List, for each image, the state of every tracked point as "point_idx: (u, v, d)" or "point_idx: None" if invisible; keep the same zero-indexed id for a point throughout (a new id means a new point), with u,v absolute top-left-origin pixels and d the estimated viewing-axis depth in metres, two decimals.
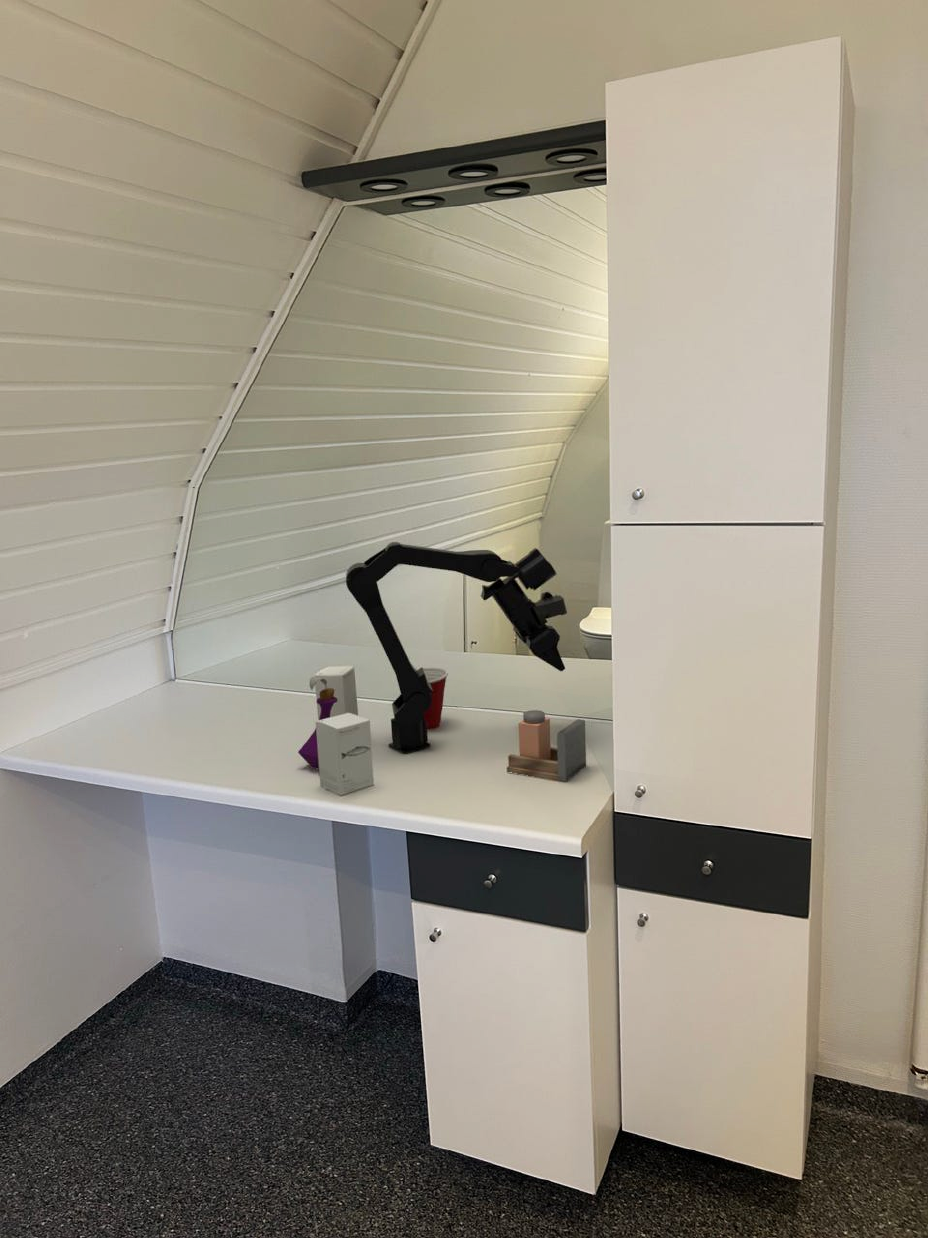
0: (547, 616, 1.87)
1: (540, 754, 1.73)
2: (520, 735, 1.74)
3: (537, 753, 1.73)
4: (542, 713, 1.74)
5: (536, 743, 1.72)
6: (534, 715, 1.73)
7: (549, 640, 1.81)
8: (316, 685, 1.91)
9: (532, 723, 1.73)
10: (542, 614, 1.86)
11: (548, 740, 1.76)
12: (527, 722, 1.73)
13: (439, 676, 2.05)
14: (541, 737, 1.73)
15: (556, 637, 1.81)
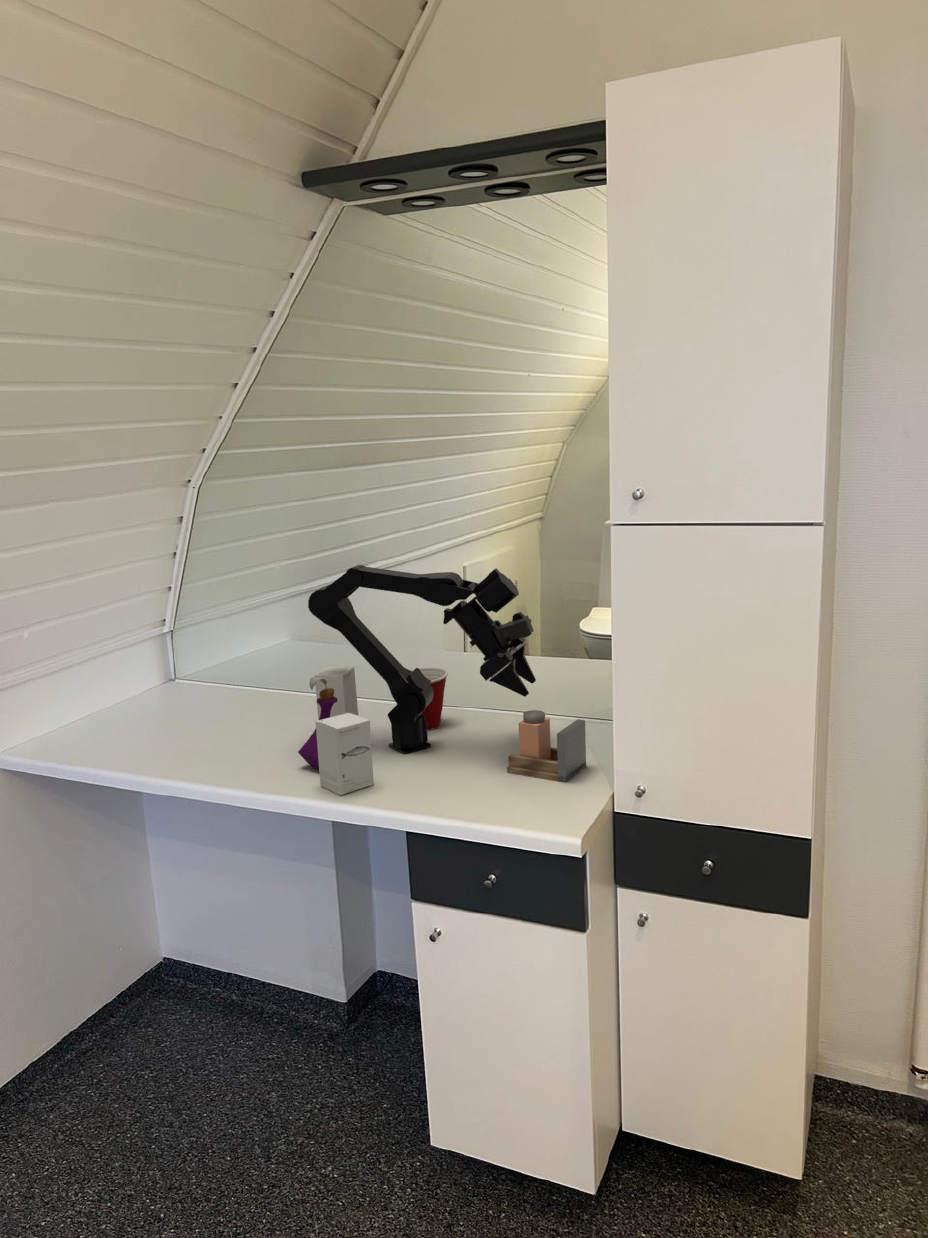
0: (509, 639, 1.79)
1: (540, 754, 1.73)
2: (520, 735, 1.74)
3: (537, 753, 1.73)
4: (542, 713, 1.74)
5: (536, 743, 1.72)
6: (534, 715, 1.73)
7: (499, 665, 1.74)
8: (316, 685, 1.91)
9: (532, 723, 1.73)
10: (502, 637, 1.79)
11: (548, 740, 1.76)
12: (527, 722, 1.73)
13: (439, 676, 2.05)
14: (541, 737, 1.73)
15: (505, 662, 1.73)
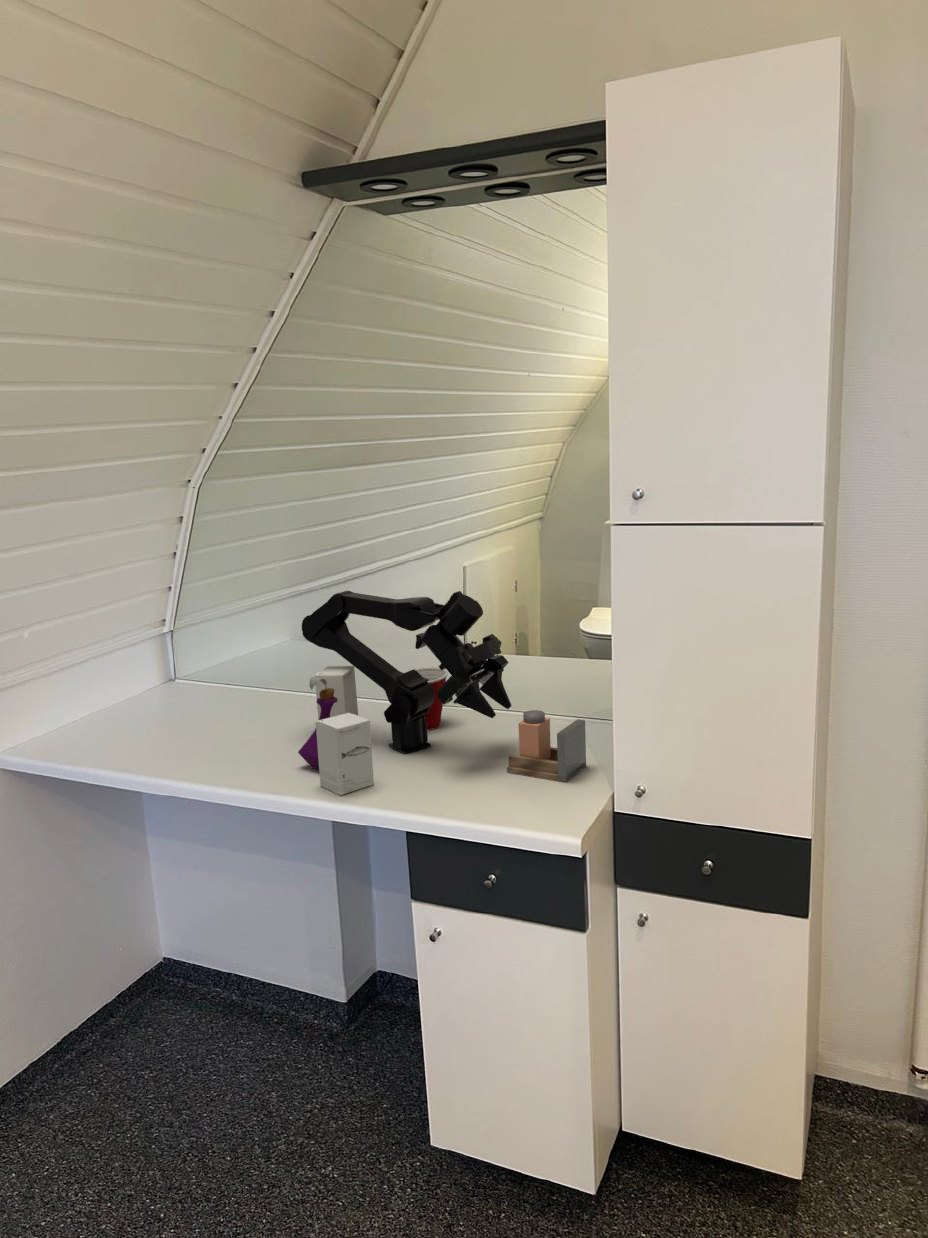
0: (472, 662, 1.76)
1: (540, 754, 1.73)
2: (520, 735, 1.74)
3: (537, 753, 1.73)
4: (542, 713, 1.74)
5: (536, 743, 1.72)
6: (534, 715, 1.73)
7: (452, 689, 1.72)
8: (316, 685, 1.91)
9: (532, 723, 1.73)
10: (465, 660, 1.77)
11: (548, 740, 1.76)
12: (527, 722, 1.73)
13: (439, 676, 2.05)
14: (541, 737, 1.73)
15: (457, 685, 1.71)
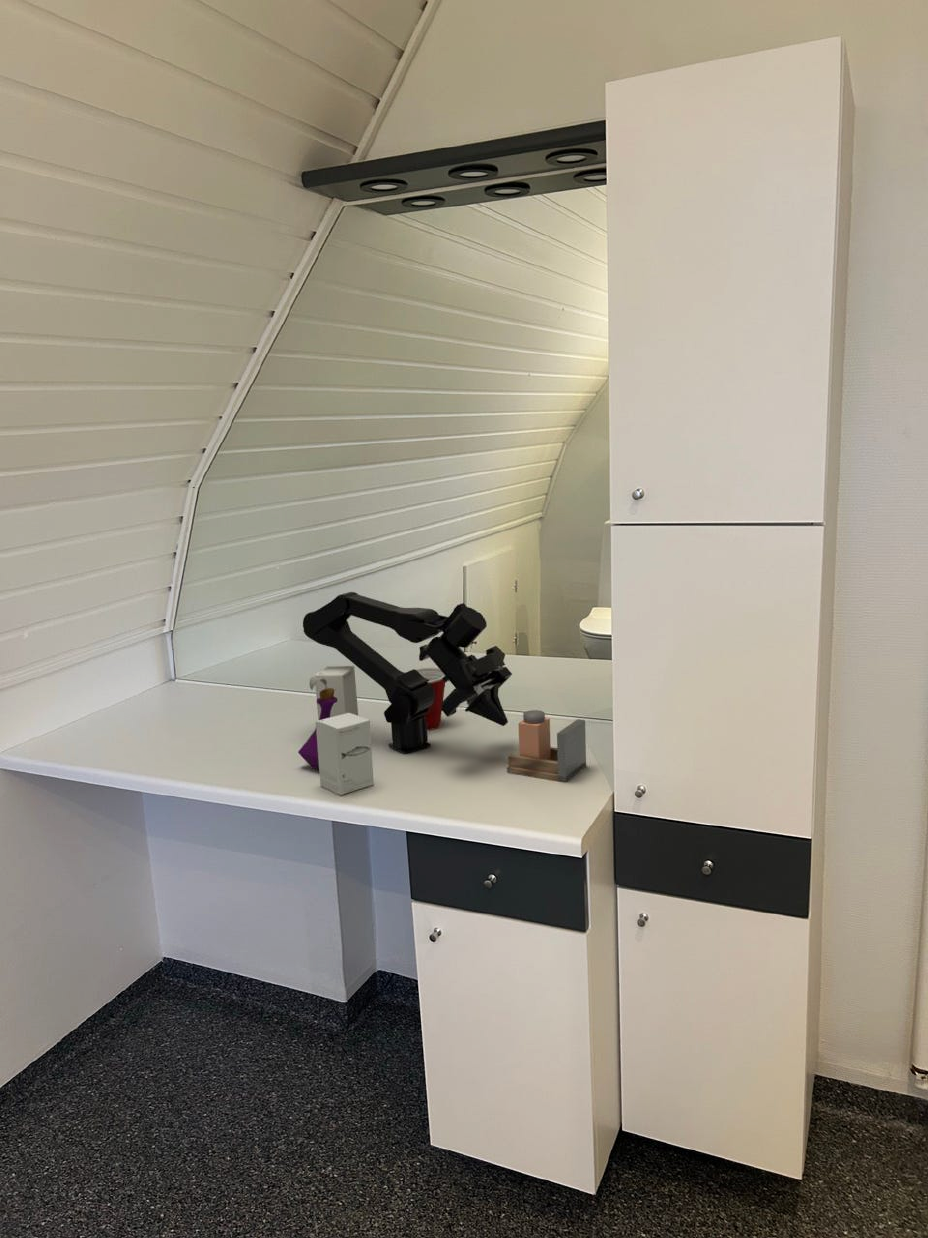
0: (476, 674, 1.77)
1: (540, 754, 1.73)
2: (520, 735, 1.74)
3: (537, 753, 1.73)
4: (542, 713, 1.74)
5: (536, 743, 1.72)
6: (534, 715, 1.73)
7: (455, 702, 1.72)
8: (316, 685, 1.91)
9: (532, 723, 1.73)
10: (469, 672, 1.77)
11: (548, 740, 1.76)
12: (527, 722, 1.73)
13: (439, 676, 2.05)
14: (541, 737, 1.73)
15: (461, 698, 1.71)
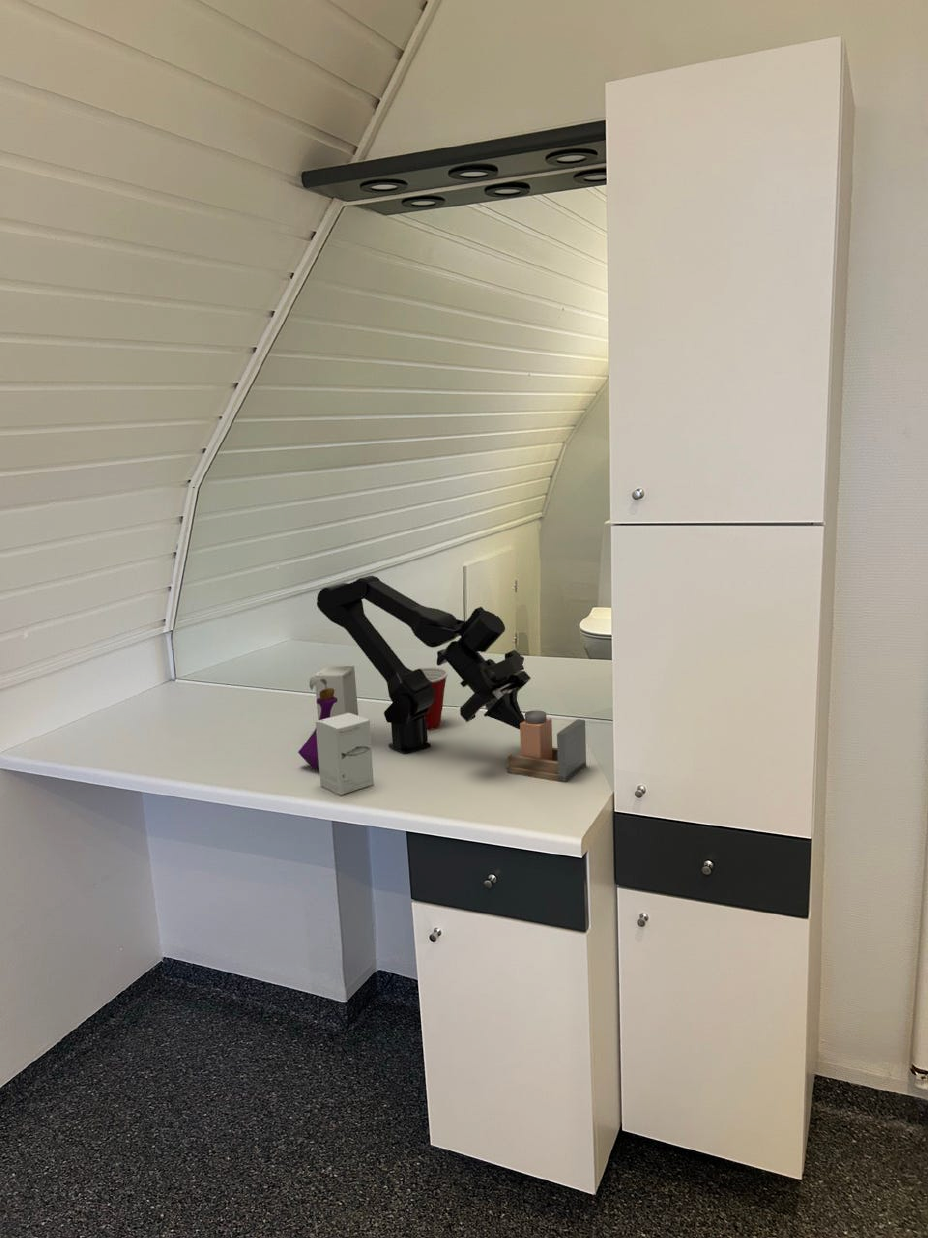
0: (495, 678, 1.75)
1: (542, 755, 1.73)
2: (522, 735, 1.74)
3: (539, 753, 1.73)
4: (544, 713, 1.74)
5: (538, 743, 1.72)
6: (536, 715, 1.73)
7: (475, 707, 1.70)
8: (316, 685, 1.91)
9: (534, 723, 1.73)
10: (488, 677, 1.75)
11: (550, 740, 1.76)
12: (529, 722, 1.73)
13: (439, 676, 2.05)
14: (543, 737, 1.73)
15: (480, 703, 1.69)
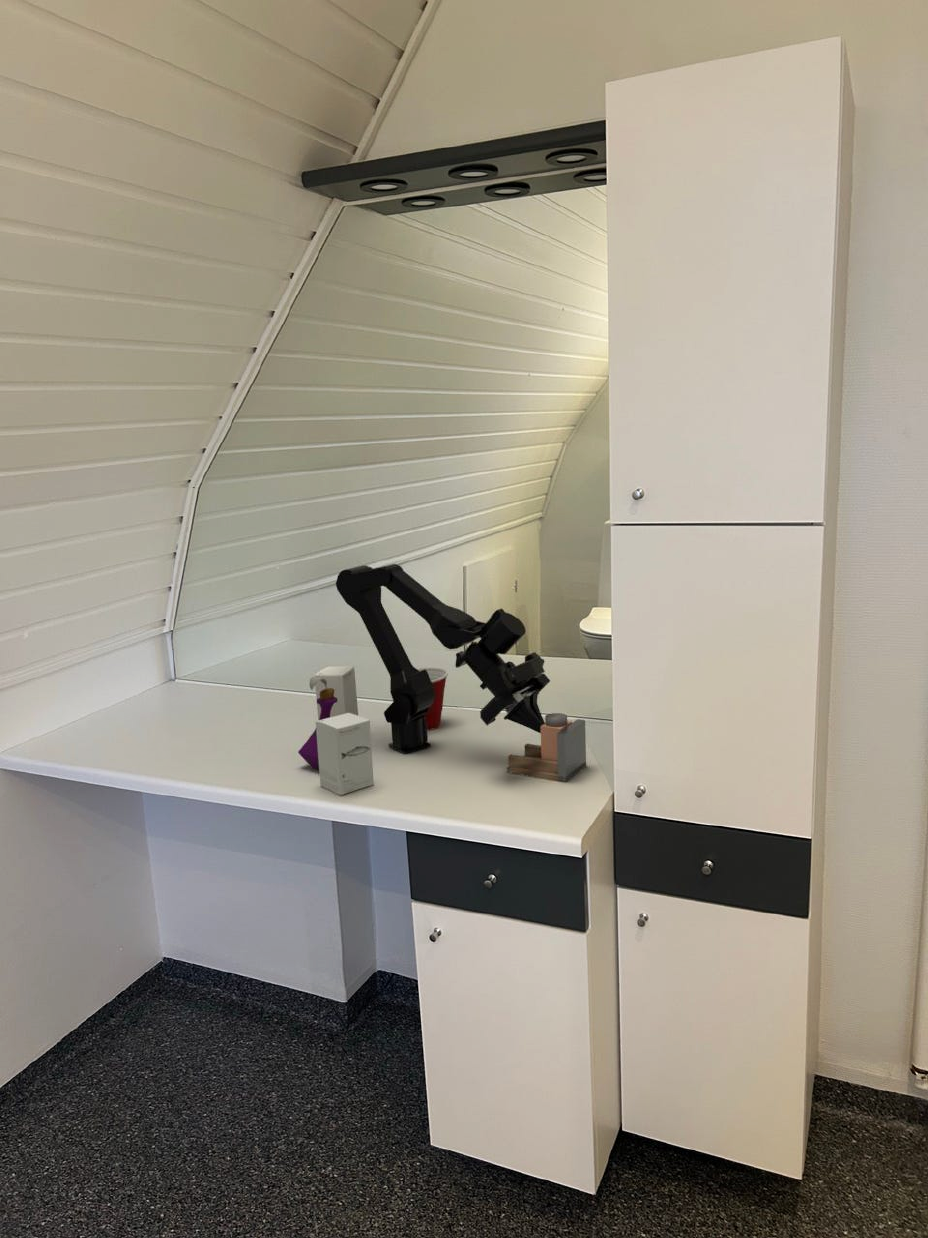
0: (515, 681, 1.72)
1: None
2: (542, 738, 1.72)
3: None
4: (564, 716, 1.72)
5: None
6: (556, 718, 1.71)
7: (495, 710, 1.67)
8: (316, 685, 1.91)
9: (555, 726, 1.70)
10: (508, 679, 1.72)
11: None
12: (549, 725, 1.71)
13: (439, 676, 2.05)
14: None
15: (501, 706, 1.67)
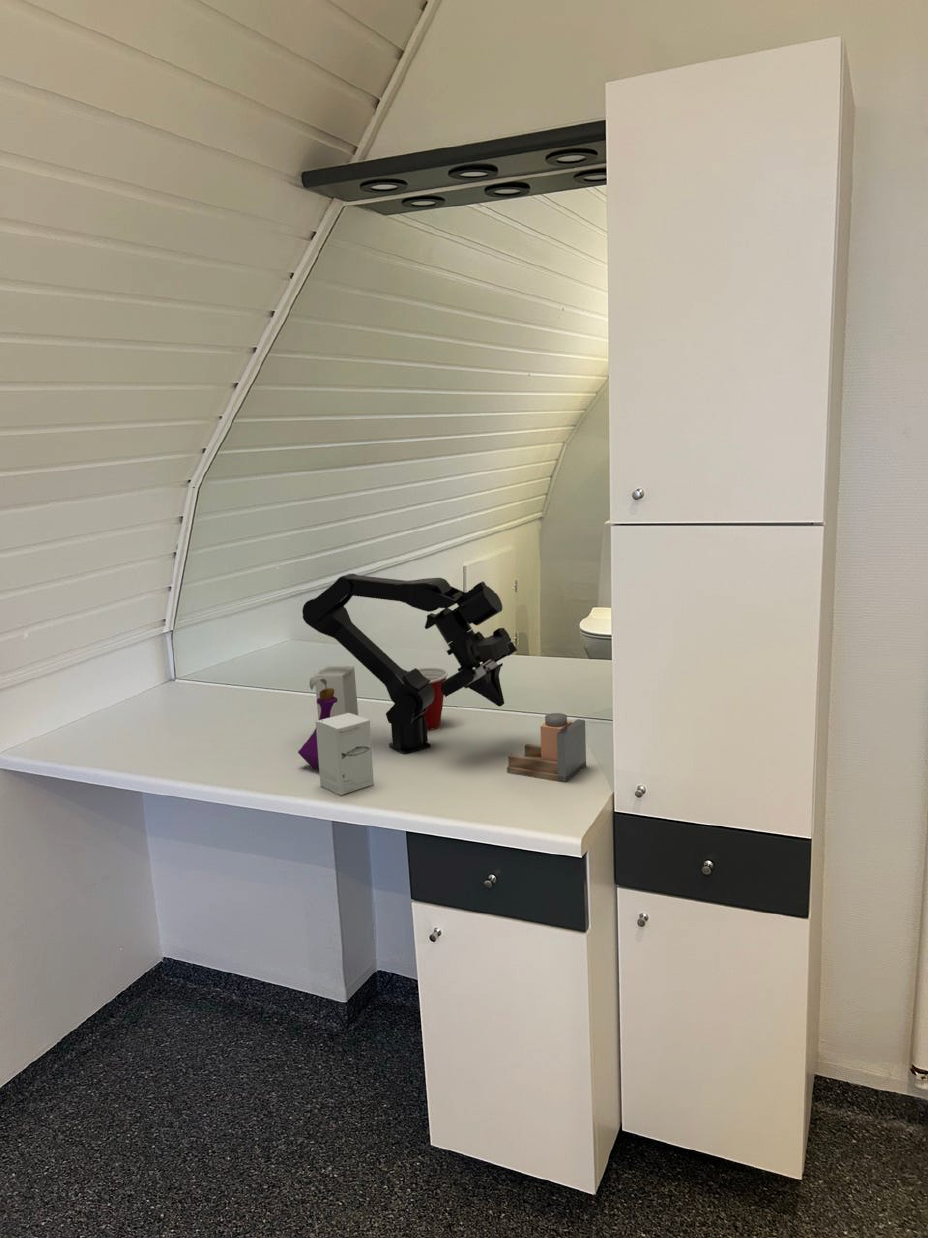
0: (479, 657, 1.78)
1: None
2: (542, 738, 1.72)
3: None
4: (564, 716, 1.72)
5: None
6: (556, 718, 1.71)
7: (454, 687, 1.75)
8: (316, 685, 1.91)
9: (555, 726, 1.70)
10: (472, 655, 1.78)
11: None
12: (549, 725, 1.71)
13: (439, 676, 2.05)
14: None
15: (459, 686, 1.74)
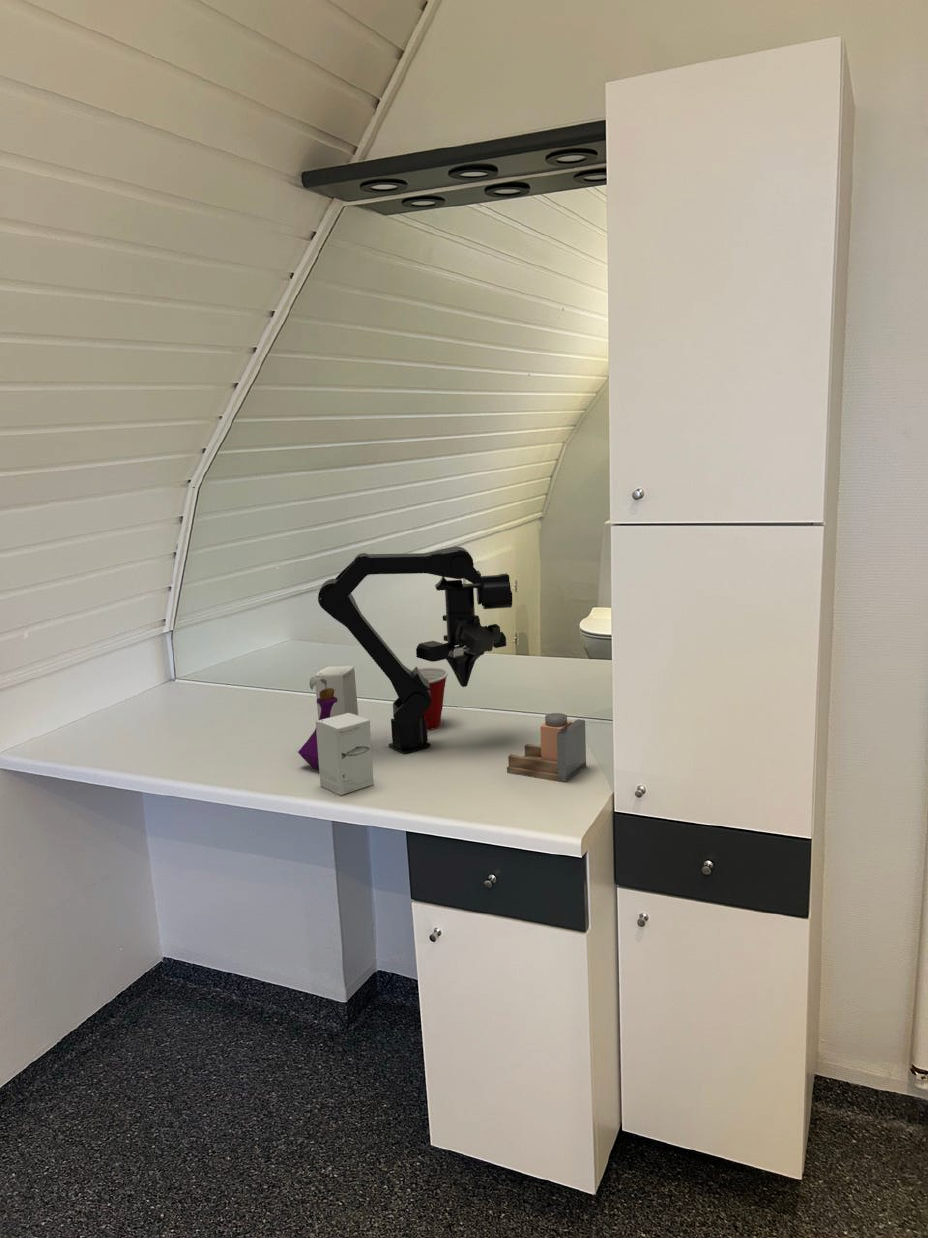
0: (463, 641, 1.83)
1: None
2: (542, 738, 1.72)
3: None
4: (564, 716, 1.72)
5: None
6: (556, 718, 1.71)
7: (426, 656, 1.82)
8: (316, 685, 1.91)
9: (555, 726, 1.70)
10: (458, 636, 1.83)
11: None
12: (549, 725, 1.71)
13: (439, 676, 2.05)
14: None
15: (430, 659, 1.81)
